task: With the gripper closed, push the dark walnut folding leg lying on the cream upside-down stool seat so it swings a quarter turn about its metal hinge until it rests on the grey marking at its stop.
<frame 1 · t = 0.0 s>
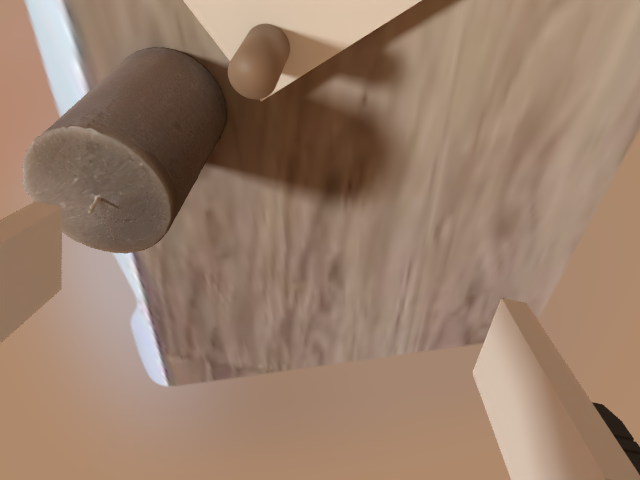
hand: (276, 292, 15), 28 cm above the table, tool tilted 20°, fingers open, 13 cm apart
pillar candle: (170, 101, 43), on the table
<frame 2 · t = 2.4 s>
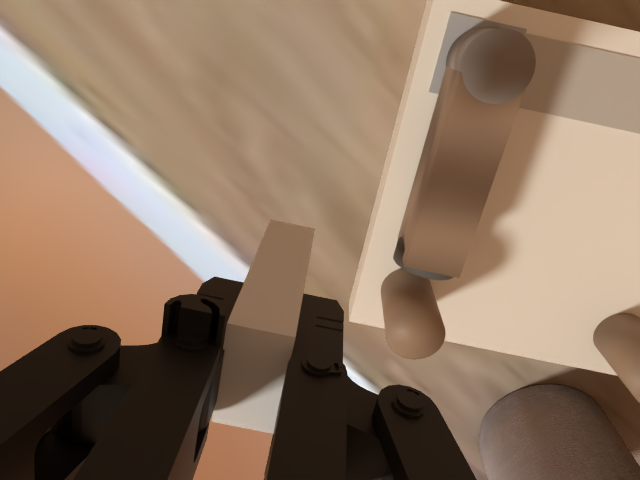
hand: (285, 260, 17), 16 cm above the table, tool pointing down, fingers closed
folding leg: (457, 157, 27), point 5 cm above the table, hinge at 0.0°
stool seat: (539, 198, 32), on the table
pillar candle: (538, 431, 39), on the table
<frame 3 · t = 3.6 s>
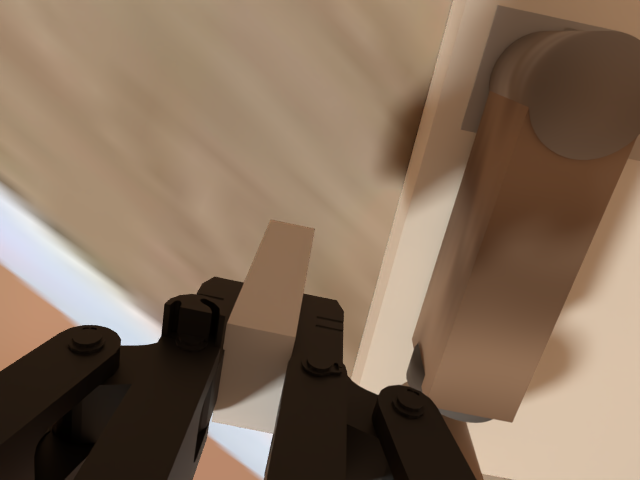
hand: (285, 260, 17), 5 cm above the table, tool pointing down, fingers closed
folding leg: (509, 235, 17), point 5 cm above the table, hinge at 0.0°
stool seat: (615, 274, 22), on the table
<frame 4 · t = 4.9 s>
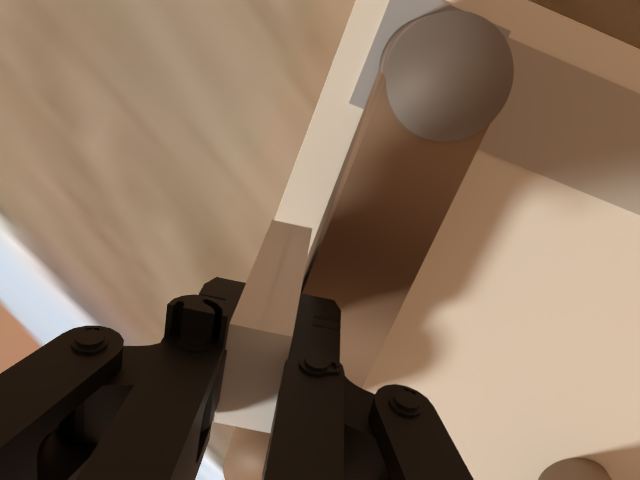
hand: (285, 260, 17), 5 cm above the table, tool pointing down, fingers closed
folding leg: (376, 214, 17), point 5 cm above the table, hinge at 1.4°, touching gripper
stool seat: (495, 280, 23), on the table
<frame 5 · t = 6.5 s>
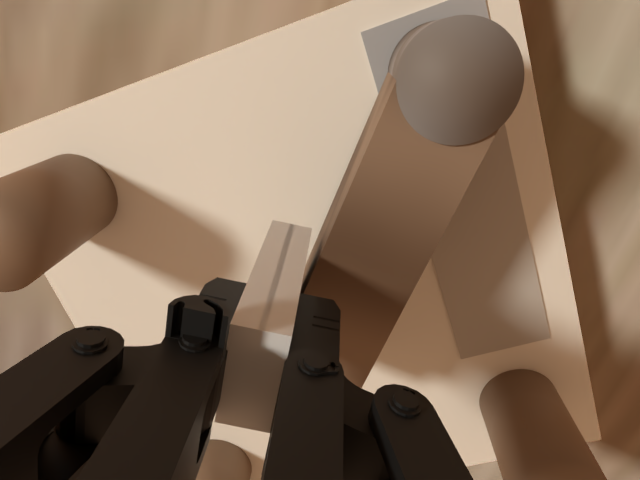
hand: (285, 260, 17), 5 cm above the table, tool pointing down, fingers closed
folding leg: (380, 216, 17), point 5 cm above the table, hinge at 49.5°, touching gripper
stool seat: (313, 276, 23), on the table
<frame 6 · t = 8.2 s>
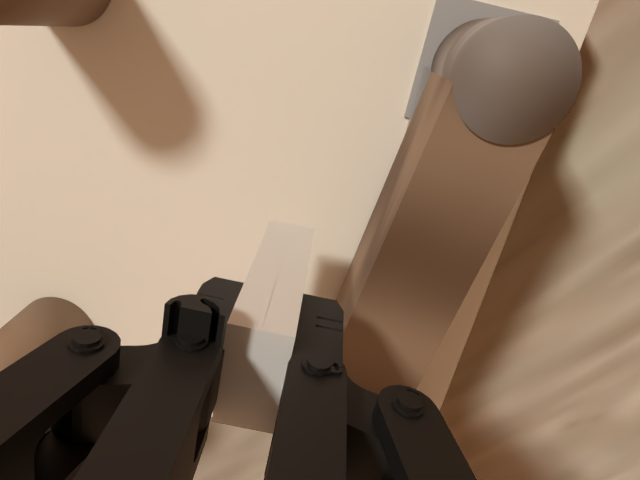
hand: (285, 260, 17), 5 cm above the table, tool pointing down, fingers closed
folding leg: (429, 217, 17), point 5 cm above the table, hinge at 82.8°
stool seat: (253, 196, 22), on the table
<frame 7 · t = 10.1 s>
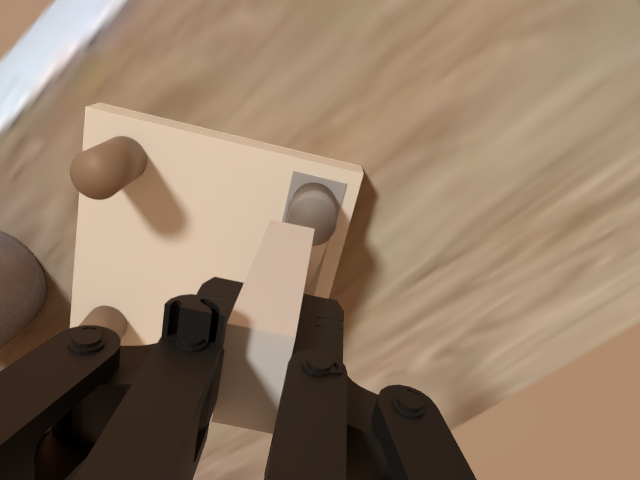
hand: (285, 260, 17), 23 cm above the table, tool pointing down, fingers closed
folding leg: (290, 269, 37), point 5 cm above the table, hinge at 82.8°
stool seat: (212, 253, 42), on the table
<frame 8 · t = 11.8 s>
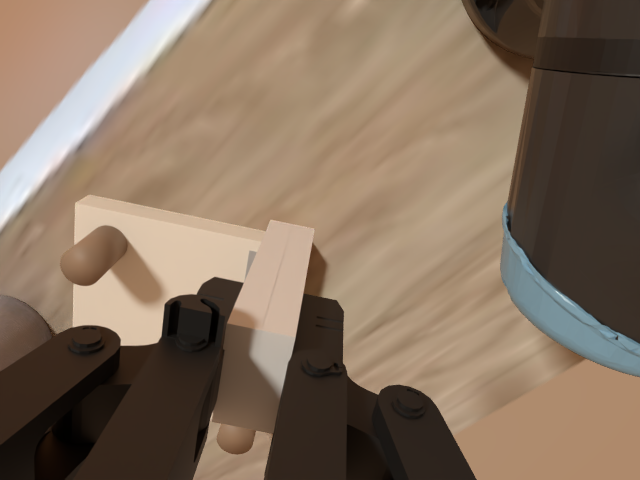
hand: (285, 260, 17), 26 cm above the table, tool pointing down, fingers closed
stool seat: (189, 313, 49), on the table
pillar candle: (7, 333, 51), on the table
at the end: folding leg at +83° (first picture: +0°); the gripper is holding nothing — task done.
